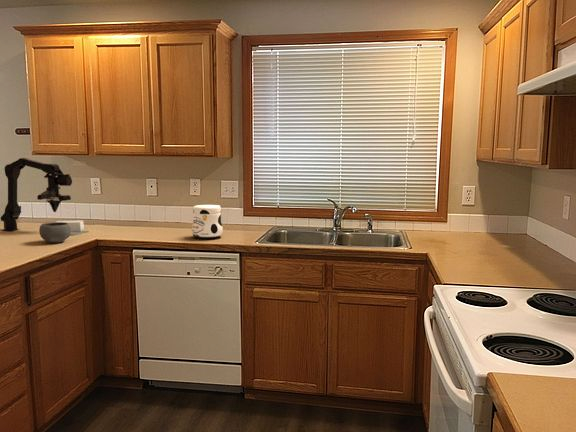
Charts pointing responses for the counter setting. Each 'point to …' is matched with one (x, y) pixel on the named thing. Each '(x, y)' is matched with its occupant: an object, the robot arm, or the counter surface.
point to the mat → (77, 232)
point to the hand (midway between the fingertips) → (54, 211)
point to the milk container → (207, 221)
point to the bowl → (54, 231)
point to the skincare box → (75, 225)
